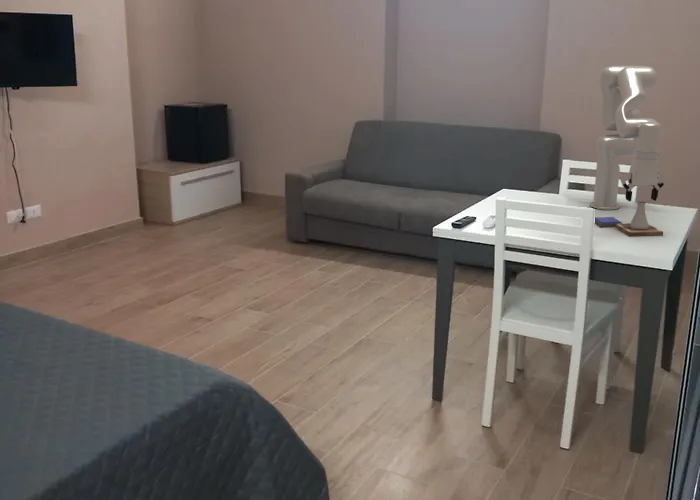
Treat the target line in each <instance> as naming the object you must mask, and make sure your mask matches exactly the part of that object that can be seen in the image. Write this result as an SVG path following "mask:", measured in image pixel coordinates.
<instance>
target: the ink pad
mask: <svg viewBox="0 0 700 500" xmlns="http://www.w3.org/2000/svg"><path fill="white" fill-rule="evenodd" d="M594 218H595V225H596V226H598V227H599V228H602V229H603V228H615V224H623V222H622V221H621V220H619V219H618V218H616V217H614V216H601V217H600V216H598V217H594Z"/></svg>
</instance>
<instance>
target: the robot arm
mask: <svg viewBox="0 0 700 500" xmlns="http://www.w3.org/2000/svg"><path fill="white" fill-rule="evenodd" d="M657 76H658V75H657V72H656V70H655V69H654V68H653V67H652V66H647V65H612V66H611V65H609V66H607V67H604V68H603V69H602V70H601V72H600V75H599V87H600V90H601V95H602V104H601V106H602V107H601V120H600V121H601V127H602V129H603V130H605V131H609V132H617V133H609V134H608V133H607V134H602V135H601V136H599V137H598V138H597V140H596V143H595V146H596V147H595V148H596V149H595V150H596V167H595V168H596V170H595V181H594V192H593V201H591V202H589V207H590V206H591V207H590V208H592V207H594V208H593V209H595V208H597V209H596V210H603V211H607V210H608V211H613V210H619V209H620V207H621V204H619V203H618V202H617V201H618V199H617V198H618V191H619V183H621V185H622V187H623V188H624V190H625V196H624V197H625V200H627V202H632V199H633V191H632V190H633V189H634V188H635V187H652V189H651V195H650V199H651V200H652V201H655V202H656V201H657V199H658V196H659V191H660V190H661V188H662V187H663V186H664V185H665V183H666V182H667V180H668V179H667V177H665V176H663V175H661V174H660V161H659V160H660V159H659V157H660V156H661V155H662V152H660V151H659V149H660V148H659V147H660V142H661V141H660V139H661V132H662V125H661V123H659V122H658V121H656V119H654V118H649V117H647V118H646V117H645V118H642V115H641V112H640V110H639V109H637V108H639V107H641V106H642V105H643V104H645V102H646V99H647V95H646V92H645V89H652V88H654V87H655V86H656V83H657V79H658V78H657ZM619 157H622V158H623V157H624V158H625V157H626V158H627V157H629V158H631V157H633V158H632V161H631V162H630V163H631V164H630V168H629V170H628V171H629V172H628V174H627V175H626V176H623V177H621V178H620V171H621V170H620V169H621V167H620V164H619V162H617V161H618V160H616V158H619ZM659 180H660V181H659ZM619 181H620V182H619Z"/></svg>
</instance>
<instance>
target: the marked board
mask: <svg viewBox="0 0 700 500" xmlns="http://www.w3.org/2000/svg"><path fill="white" fill-rule="evenodd" d="M622 223H623V222H622ZM630 223H631V222H629V223H623V224H615V227H614V228H615V229H616V230H618V231H619V232H621V233H622V234H624V235H625V236H627V237H628V238H629V237H632V238H633V237H658V236H659V237H660V236H661V237H663V236H664V231H662V230H661V229H660V228H658V227H655V226H654V225H653V224H650V223H648V226H649V228H648V229H632V228H630V227H629V225H630Z"/></svg>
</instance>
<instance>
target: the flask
mask: <svg viewBox="0 0 700 500" xmlns="http://www.w3.org/2000/svg"><path fill="white" fill-rule="evenodd" d="M646 203H647V202H645V201H639V200H638V201H637V202H636V205H637V207H636V210H635V213H634V215H633V217H632V219H631V221H630V222H629V223H630V225H629V227H630V228H632V229H648V228H649V226H648V224H649V223H648V219H647V214H646V210H645V209H646V207H645V206H646Z"/></svg>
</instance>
